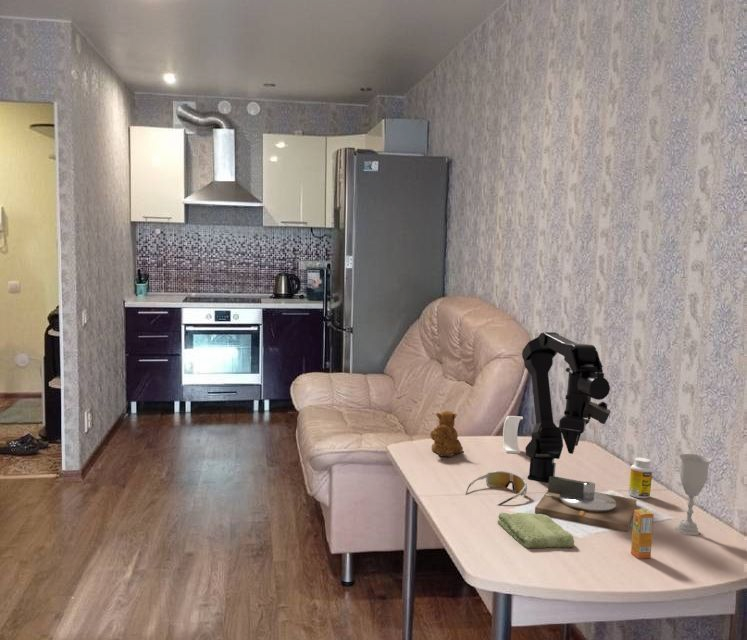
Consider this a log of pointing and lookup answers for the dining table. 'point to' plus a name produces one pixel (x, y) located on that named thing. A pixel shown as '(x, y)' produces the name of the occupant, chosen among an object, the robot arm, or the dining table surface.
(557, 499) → the dial base
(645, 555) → the supplement box
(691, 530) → the chalice
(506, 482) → the sunglasses
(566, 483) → the dial
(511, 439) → the headphone stand
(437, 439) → the brown teddy bear
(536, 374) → the robot arm
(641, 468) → the supplement bottle
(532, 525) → the washcloth
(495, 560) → the dining table surface
